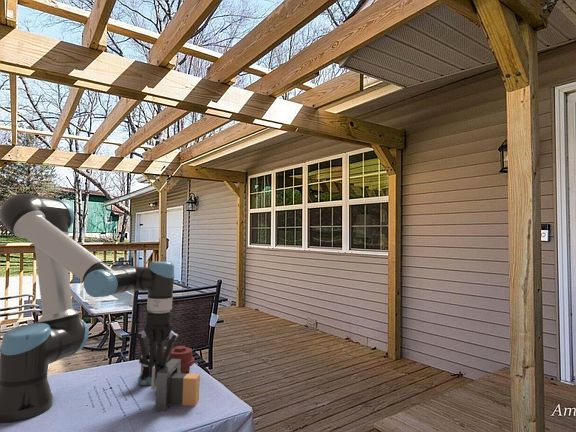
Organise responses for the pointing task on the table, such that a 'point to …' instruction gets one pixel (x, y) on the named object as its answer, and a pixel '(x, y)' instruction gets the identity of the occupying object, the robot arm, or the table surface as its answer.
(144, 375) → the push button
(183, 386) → the grey and orange block
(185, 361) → the mechanical component
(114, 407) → the table surface
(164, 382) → the grey piece
